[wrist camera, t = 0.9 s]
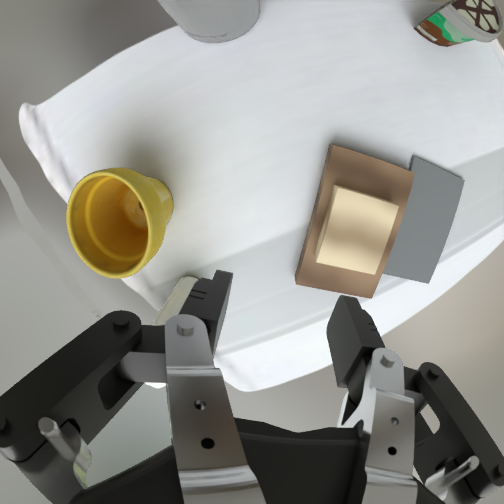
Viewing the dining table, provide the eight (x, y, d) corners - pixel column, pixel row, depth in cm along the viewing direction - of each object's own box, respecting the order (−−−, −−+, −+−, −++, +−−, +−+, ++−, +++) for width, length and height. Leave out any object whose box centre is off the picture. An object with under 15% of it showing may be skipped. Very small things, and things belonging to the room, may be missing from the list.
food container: (440, 69, 21) (488, 55, 12) (407, 32, 20) (448, 5, 10) (474, 35, 17) (515, 21, 8) (446, 3, 16) (482, -19, 6)
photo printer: (189, 337, 38) (164, 401, 27) (163, 325, 38) (130, 386, 26) (212, 283, 34) (185, 349, 23) (181, 270, 34) (142, 329, 22)
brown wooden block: (329, 144, 27) (333, 144, 25) (407, 171, 27) (415, 173, 25) (294, 276, 33) (295, 284, 31) (367, 290, 33) (371, 298, 31)
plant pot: (101, 186, 30) (51, 204, 21) (163, 145, 28) (119, 148, 19) (136, 255, 33) (97, 292, 24) (202, 224, 31) (174, 257, 22)
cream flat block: (333, 184, 26) (337, 187, 24) (391, 201, 26) (398, 206, 25) (313, 254, 29) (316, 262, 28) (369, 267, 29) (374, 274, 28)
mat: (412, 155, 26) (414, 156, 25) (462, 179, 26) (464, 180, 25) (376, 270, 32) (378, 272, 31) (427, 282, 32) (428, 283, 31)
